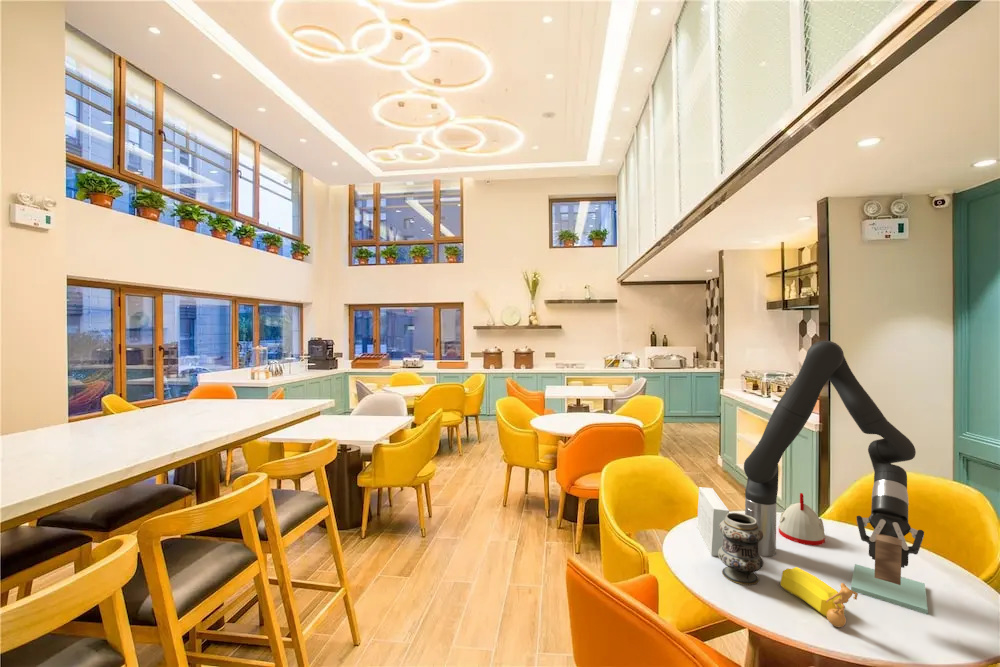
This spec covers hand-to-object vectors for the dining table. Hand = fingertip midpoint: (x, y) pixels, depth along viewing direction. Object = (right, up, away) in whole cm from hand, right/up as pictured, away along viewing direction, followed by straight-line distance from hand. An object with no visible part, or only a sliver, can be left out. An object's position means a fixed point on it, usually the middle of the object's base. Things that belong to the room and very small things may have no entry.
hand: (888, 562), depth 114 cm
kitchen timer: (+10, -15, +48) cm, 52 cm away
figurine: (-13, -17, -1) cm, 21 cm away
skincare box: (-24, -16, +44) cm, 53 cm away
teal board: (+14, -16, +16) cm, 26 cm away
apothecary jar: (-26, -16, +23) cm, 38 cm away
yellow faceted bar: (-12, -17, +11) cm, 23 cm away
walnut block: (+1, -5, +2) cm, 5 cm away
